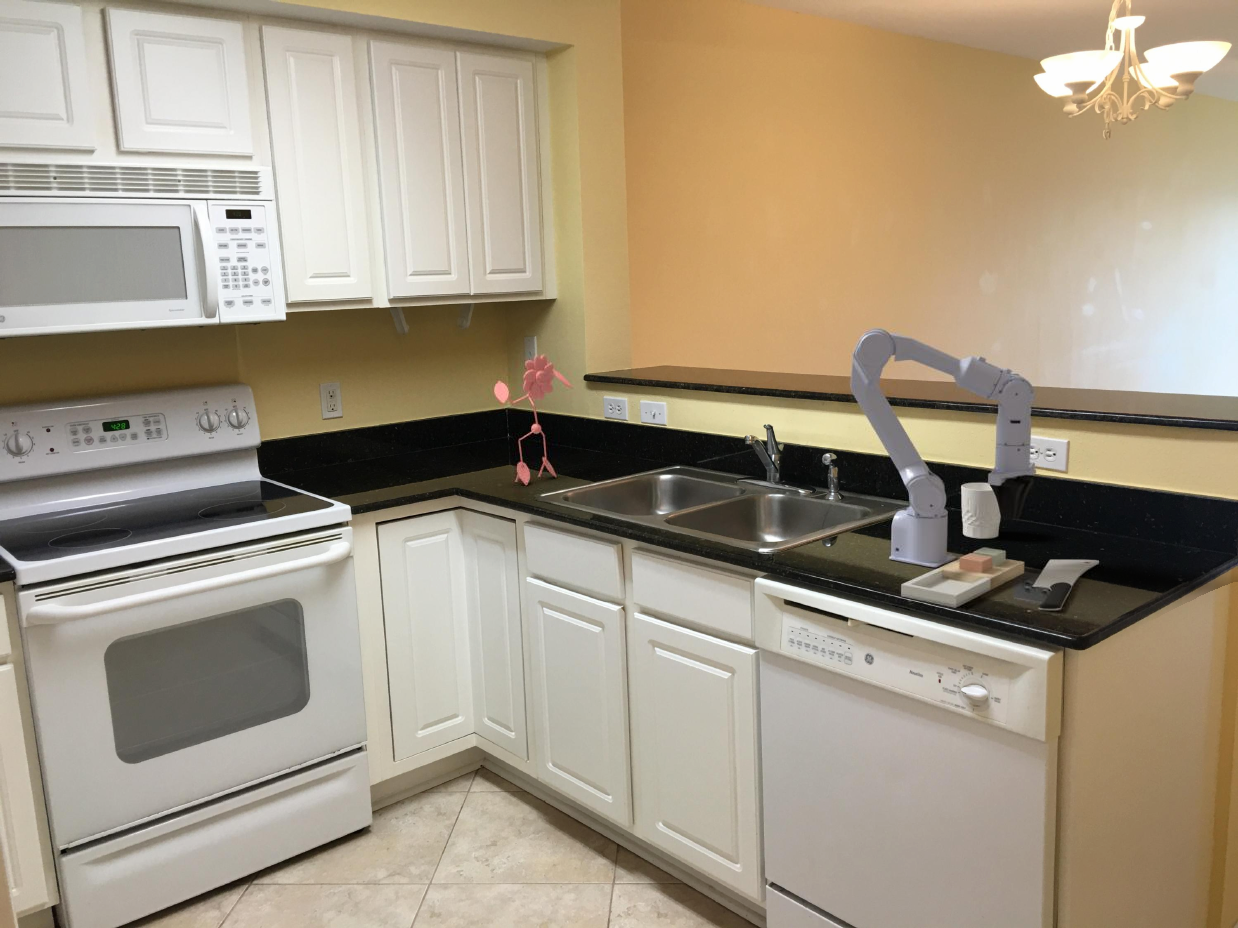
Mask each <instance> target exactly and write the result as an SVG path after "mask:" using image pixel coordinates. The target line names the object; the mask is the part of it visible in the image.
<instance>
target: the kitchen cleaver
mask: <svg viewBox="0 0 1238 928" xmlns="http://www.w3.org/2000/svg"><path fill="white" fill-rule="evenodd" d="M1099 564H1100V561H1099V560H1097V559H1049V561H1048V562H1047V563H1046V565H1045V567H1043V569H1042V571H1041V572H1040V574H1039V576H1038V577H1037V579H1036V580H1035V582H1034V583H1033V585H1031V586H1032V588H1033V587H1034V588H1041V589H1049V590H1050V592H1049V594H1048V596H1047V597H1046V598H1045V600H1044V601H1043V602H1042V603H1040V604H1039V605H1038V610H1039V611H1041V612H1044V613H1045V612H1046V613H1054V614H1055V613H1059V612H1060V611H1061V610H1062V608H1063V606H1064V604H1065V602H1066V600H1067V599H1068V597H1069V595H1070V592H1071V591H1072V588H1073V587H1074V584H1075V583H1076V581H1077V580H1078V579H1079V578H1080V577H1081V576H1082V575H1083V574H1084V573H1086V572H1087V571H1088V570H1089V569H1092V568H1093V567H1095V566H1096V565H1099Z"/></svg>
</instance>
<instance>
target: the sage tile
mask: <svg viewBox="0 0 1238 928" xmlns="http://www.w3.org/2000/svg"><path fill="white" fill-rule="evenodd" d="M972 553H973V554H979V555H985V556H990V557H993V563H992V567H996V566H998V565H1000V564H1002V563H1004V562H1005V559H1006V557H1007V554H1006V553H1007V552H1006V550H1002V549H995V548H992V547H991V548H990V547H981V548H979V549H977V550H975V551H973V552H972Z"/></svg>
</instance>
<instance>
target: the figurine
mask: <svg viewBox="0 0 1238 928" xmlns="http://www.w3.org/2000/svg"><path fill="white" fill-rule="evenodd" d="M524 363H525V364H524V366H525V369H526V370H527V371H526V372H525V373H524V375H523V380H524V383H523V386H522V391H523V392H524V393H527V394H526V395H524V396H522V397H520V398H519V399H516V400H514V401H513V400H512V398H511V396H510V395H509V393H510V392H509V388H508V386H507V385H506V384H505V383H504V382H502V381H501V380H498V381H497V383H495V385H494V389H493V390H494V391H493V393H494V395H495V397H496V399H497V400H498V401H499V402H500V403H502V404H503V405H504V404H505V403H506V402H507V400H509V402H510V404H511V405H515V404H516V403H518V402H520V401H522V400H524V399H526V398H527V399H529V401H530V403H531V405H532V407H533V413H534V418H535V423H533V424H532V426H531V429H530V430H531V431H530V432H529V433H527V434H526V435H524V436H523V437H521V438H519V439H518V447H519V454H520V455H519V456H520V461H519V462H518V463H517V465H516V472H517V475H516V478H515V481H514V483H515V482H517V483H518V480H519V479H520V480H521V482H522V483H523V484H524V485H525V486H527V485H528V484H529V481H530V479H531V473H530V469H529V467H528V466H527V464H526V463H525V462H524V461H523V456H522V447H521V440H523V439H525V438H526V437H529V436H530V435H531V434H532V433H533V434H536V435H537V434H539V433H541V435H542V437H543V448H544V456H542V462H543V463H542V465H541V467H540V471H539V473H538V476H537V478H538V477H540V478H541V476H542V473H543V470H544V467H545V468H546V469H547V470H548V471H549V472H550V474H551V475H552V476H553V477H554V478H557V475H556V472H555V470H554V468H553V466H552V465H551V463H550V462H549V460H548V459H547V450H546V449H547V447H546V438H545V437H546V435H545V434H544V432H543V431H542V426H541V425H540V424H539V422H538V416H537V410H536V406H535V404H534V401H536V400H537V399H539V400H540V401H543V400H544V398H545V396H546V395H545V394H550V393H552V392H553V391H554V388H553V385H552V382H553V381H554V379H555V376H556V377H557V378H558V380H559V381H560V382H562V383H563V384H564V385H565V386H566V387H568V388H569V389H570V388H571V389H574V388H573V386H572V385H571V383H570V382H569V381H568V379H567V378H566V377H564V375H563V374H561V373H560V372H559V371H558V370H556V369H554V363H552V362H550V363H548V359H547V355H546V354H542V355H541V356H539V355H535V356H534V358H533V360H529V359H528V360H527V361H525V362H524ZM497 486H500V487H501V486H502V485H501V484H497Z"/></svg>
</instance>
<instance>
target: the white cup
mask: <svg viewBox="0 0 1238 928" xmlns="http://www.w3.org/2000/svg"><path fill="white" fill-rule="evenodd" d="M960 489H961V517H962V518H961V521H962V534H963V535H964V536H965V537H967V538H968V537H969V538H973V539H995V538H997V537H999V529H1000V528H999V527H1000V522H1001V515H1000V511H999V506H998V502H997V499H996V496H995V494H994V492H993V490H992V488H991V487H990V484H988V482H968V483H964V484H961V487H960Z"/></svg>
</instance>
